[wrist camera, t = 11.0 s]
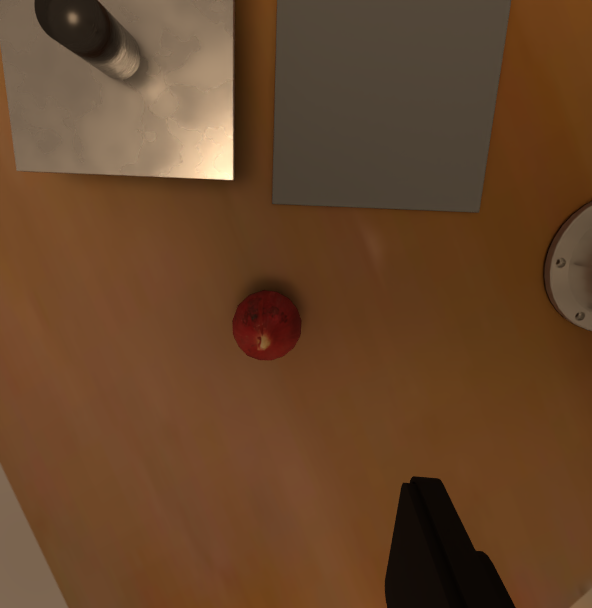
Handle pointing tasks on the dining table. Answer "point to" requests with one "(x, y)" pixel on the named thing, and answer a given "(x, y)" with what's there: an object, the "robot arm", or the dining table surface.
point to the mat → (385, 101)
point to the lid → (121, 86)
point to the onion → (266, 325)
